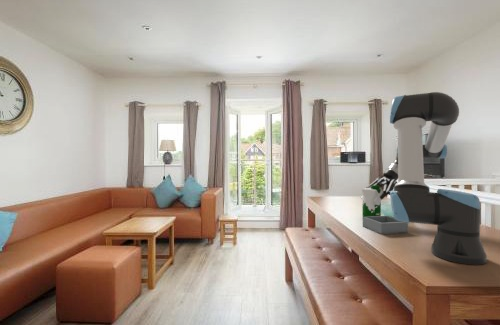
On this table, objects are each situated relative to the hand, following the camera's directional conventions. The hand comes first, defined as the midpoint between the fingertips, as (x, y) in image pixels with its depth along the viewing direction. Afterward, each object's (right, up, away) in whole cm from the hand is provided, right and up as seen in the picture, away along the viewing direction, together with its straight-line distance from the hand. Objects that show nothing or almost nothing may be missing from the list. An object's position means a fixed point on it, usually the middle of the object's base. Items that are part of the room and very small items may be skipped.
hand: (368, 200), depth 143 cm
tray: (-1, -11, -18) cm, 22 cm away
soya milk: (+2, -11, 0) cm, 12 cm away
